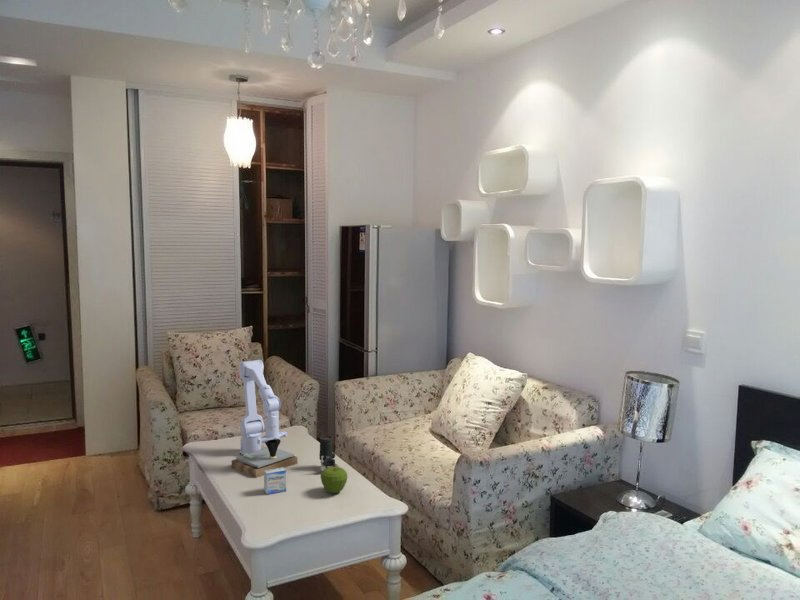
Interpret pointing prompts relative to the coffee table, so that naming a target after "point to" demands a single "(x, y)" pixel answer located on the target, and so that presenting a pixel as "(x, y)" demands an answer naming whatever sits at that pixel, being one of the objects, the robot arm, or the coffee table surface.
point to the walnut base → (260, 471)
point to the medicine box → (274, 480)
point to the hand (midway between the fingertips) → (272, 456)
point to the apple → (334, 479)
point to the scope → (326, 453)
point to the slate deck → (263, 457)
